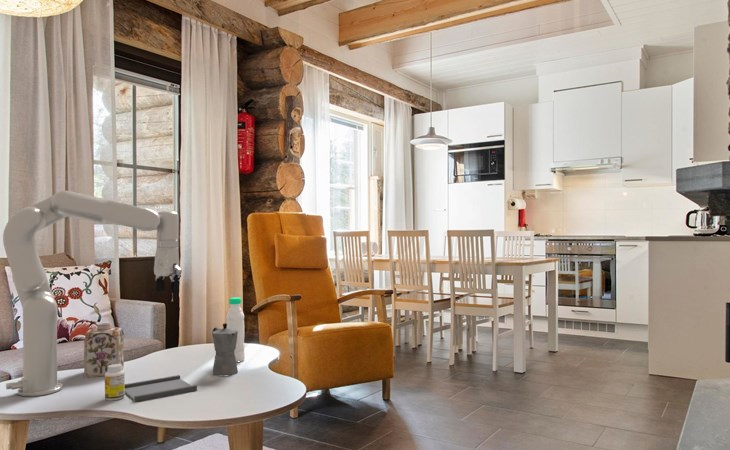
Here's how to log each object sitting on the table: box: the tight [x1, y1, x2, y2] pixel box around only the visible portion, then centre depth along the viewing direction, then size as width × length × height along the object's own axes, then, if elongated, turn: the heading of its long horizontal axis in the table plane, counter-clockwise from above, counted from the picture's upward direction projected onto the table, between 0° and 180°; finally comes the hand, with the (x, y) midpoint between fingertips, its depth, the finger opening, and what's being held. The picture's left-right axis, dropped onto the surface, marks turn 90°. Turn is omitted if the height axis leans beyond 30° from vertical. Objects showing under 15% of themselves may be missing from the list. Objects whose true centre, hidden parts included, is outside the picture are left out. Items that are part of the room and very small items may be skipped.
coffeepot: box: [211, 322, 239, 376], centre depth 200 cm, size 15×9×18 cm, turn 44°
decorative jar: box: [83, 322, 125, 378], centre depth 201 cm, size 12×12×18 cm
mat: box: [124, 374, 198, 403], centre depth 178 cm, size 19×17×2 cm
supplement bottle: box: [104, 364, 126, 401], centre depth 169 cm, size 6×6×10 cm
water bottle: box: [225, 297, 246, 363], centre depth 217 cm, size 7×7×25 cm
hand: (167, 291), depth 200 cm, fingers open, 9 cm apart
